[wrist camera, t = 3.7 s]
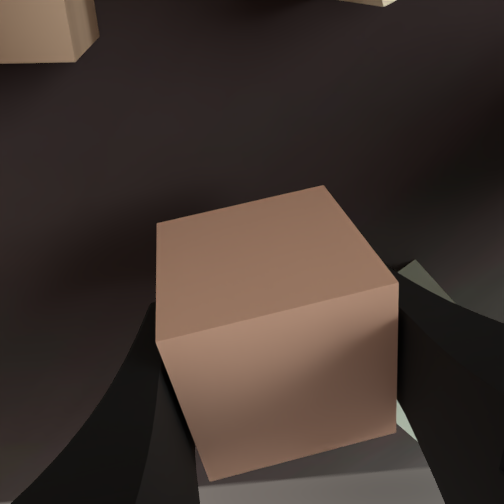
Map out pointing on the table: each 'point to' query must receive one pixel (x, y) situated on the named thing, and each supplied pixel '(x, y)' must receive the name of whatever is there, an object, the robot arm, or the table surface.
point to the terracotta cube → (276, 330)
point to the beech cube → (372, 2)
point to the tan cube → (46, 30)
